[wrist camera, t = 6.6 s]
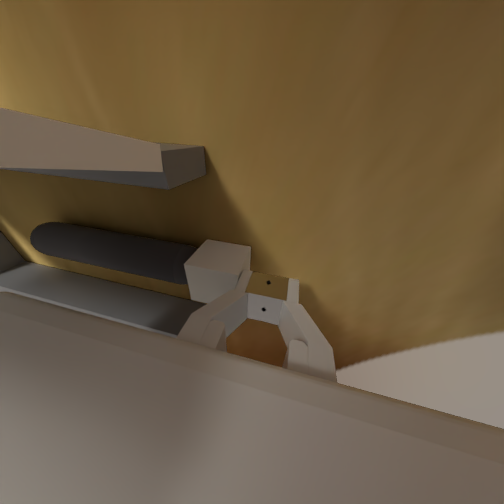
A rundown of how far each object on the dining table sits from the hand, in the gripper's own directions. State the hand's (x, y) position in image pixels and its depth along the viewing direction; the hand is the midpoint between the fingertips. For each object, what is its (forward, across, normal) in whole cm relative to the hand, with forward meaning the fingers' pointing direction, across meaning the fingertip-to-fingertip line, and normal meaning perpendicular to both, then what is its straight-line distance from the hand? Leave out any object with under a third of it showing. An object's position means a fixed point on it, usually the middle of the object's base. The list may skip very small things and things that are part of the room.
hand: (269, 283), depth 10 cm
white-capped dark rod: (+2, +9, 0) cm, 9 cm away
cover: (-7, +15, -7) cm, 18 cm away
